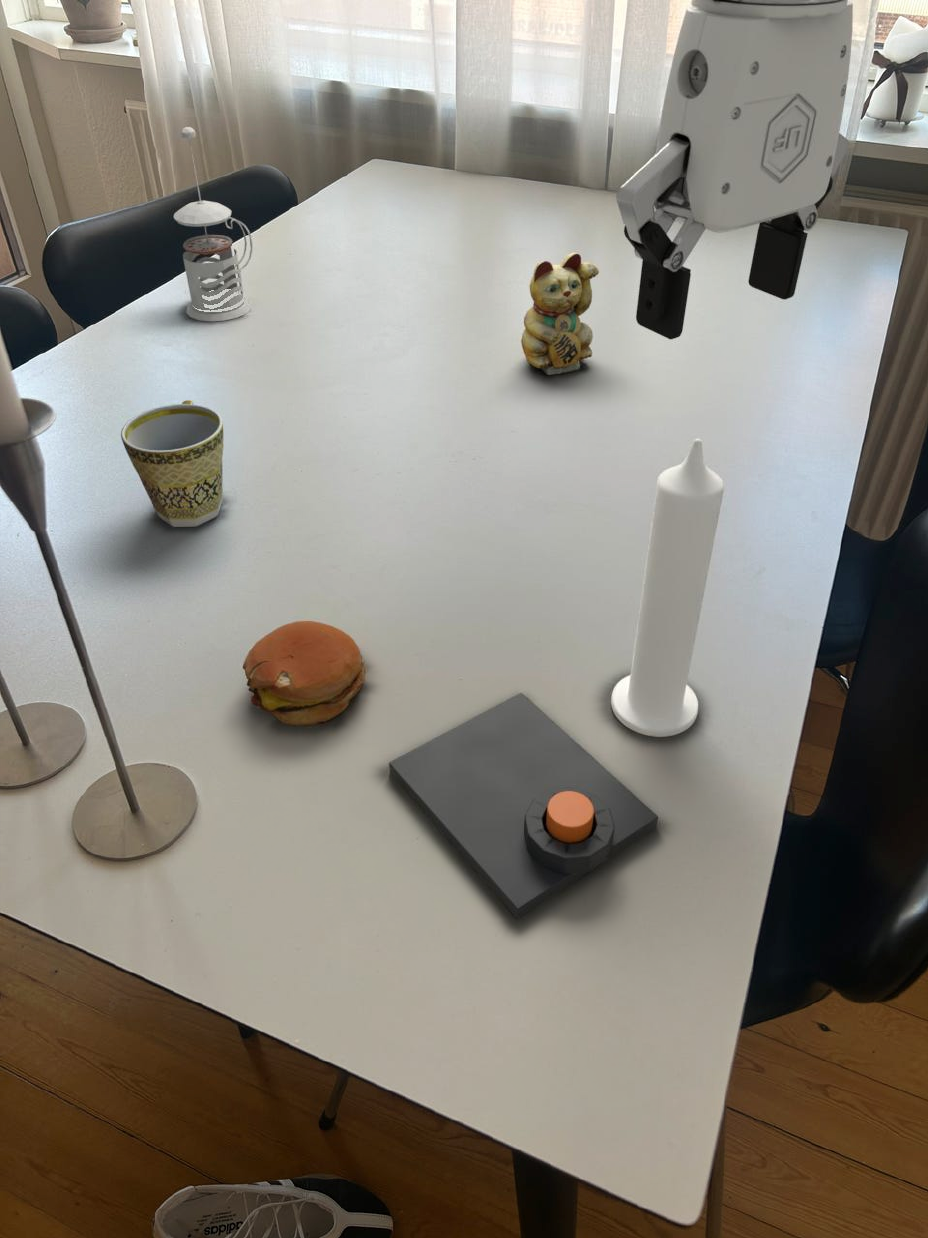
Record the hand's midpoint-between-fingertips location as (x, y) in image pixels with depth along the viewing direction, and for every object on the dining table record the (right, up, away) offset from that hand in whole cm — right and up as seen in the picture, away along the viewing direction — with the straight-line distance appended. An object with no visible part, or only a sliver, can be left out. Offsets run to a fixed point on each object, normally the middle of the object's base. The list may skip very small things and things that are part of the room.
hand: (716, 310), depth 58 cm
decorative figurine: (-3, +16, +72) cm, 73 cm away
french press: (-52, +28, +88) cm, 106 cm away
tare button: (-8, -33, +9) cm, 35 cm away
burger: (-28, -25, +24) cm, 45 cm away
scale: (-11, -32, +14) cm, 37 cm away
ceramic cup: (-45, -6, +46) cm, 65 cm away
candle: (0, -26, +22) cm, 34 cm away
